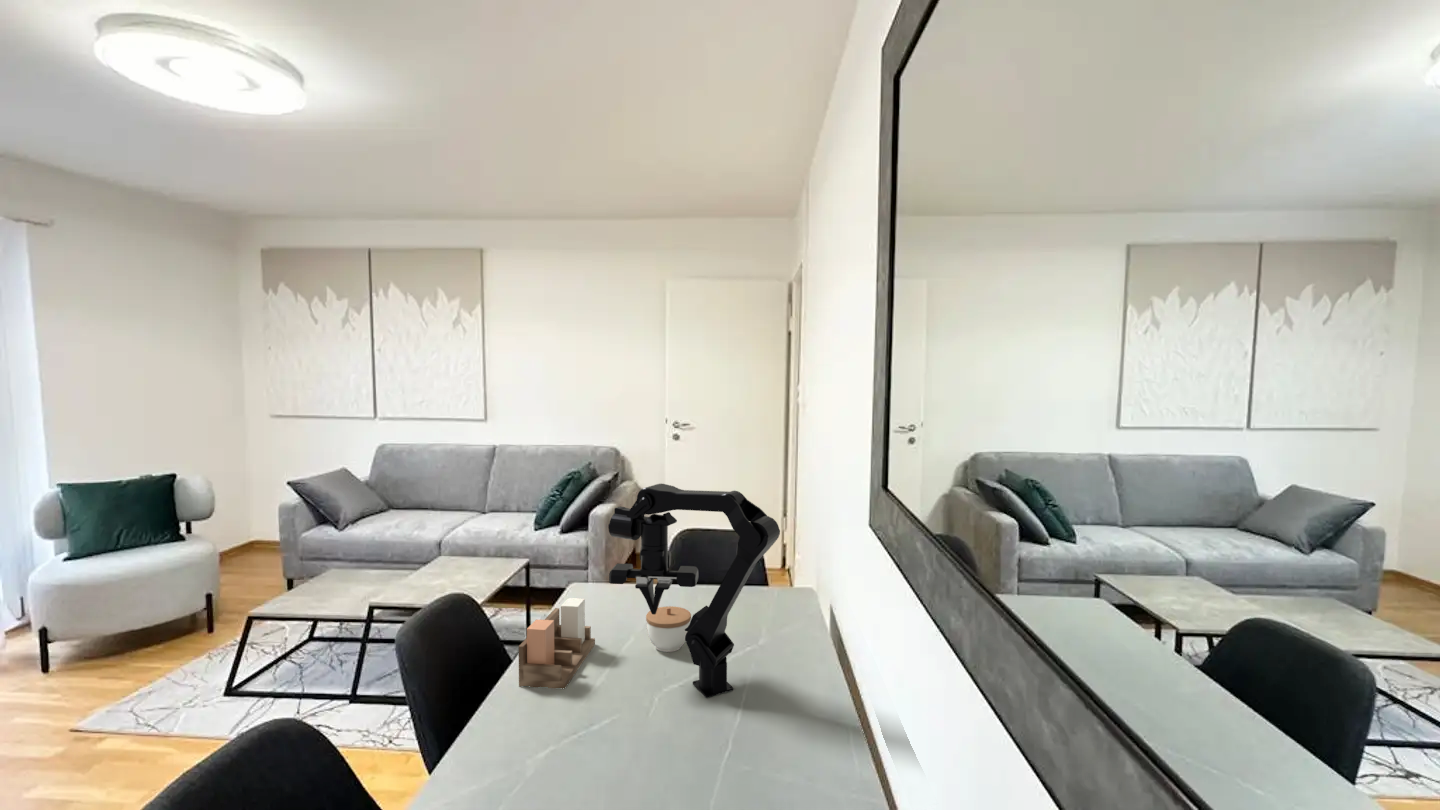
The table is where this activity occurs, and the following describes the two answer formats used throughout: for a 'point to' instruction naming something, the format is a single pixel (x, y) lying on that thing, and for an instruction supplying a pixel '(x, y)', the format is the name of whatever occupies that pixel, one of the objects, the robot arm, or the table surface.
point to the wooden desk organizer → (555, 659)
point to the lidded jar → (668, 627)
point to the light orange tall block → (540, 642)
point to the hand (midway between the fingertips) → (654, 613)
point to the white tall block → (573, 618)
